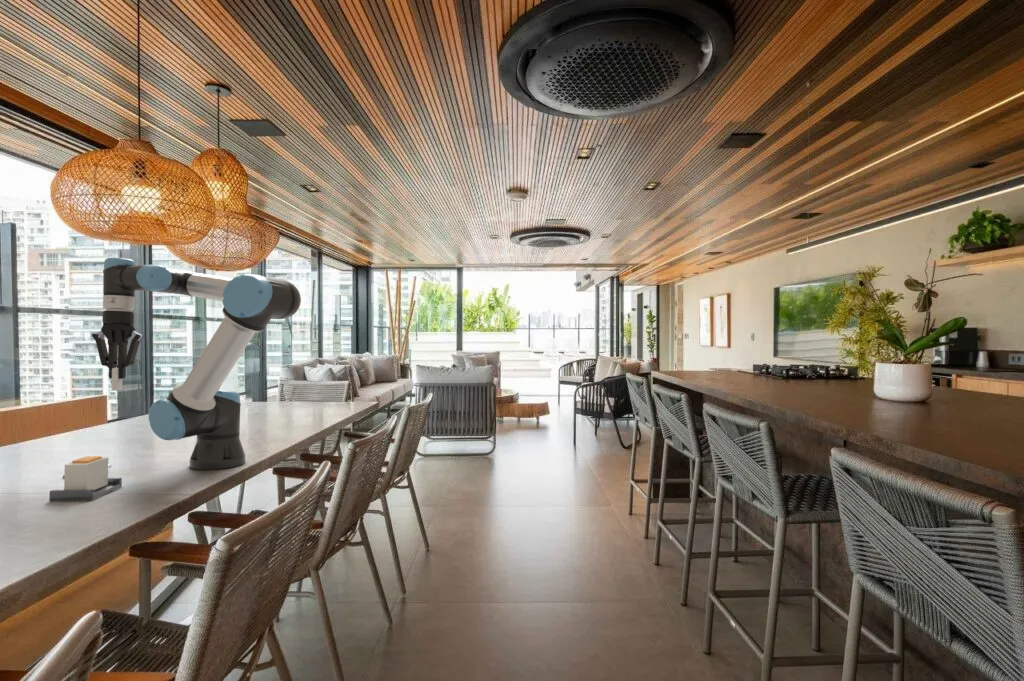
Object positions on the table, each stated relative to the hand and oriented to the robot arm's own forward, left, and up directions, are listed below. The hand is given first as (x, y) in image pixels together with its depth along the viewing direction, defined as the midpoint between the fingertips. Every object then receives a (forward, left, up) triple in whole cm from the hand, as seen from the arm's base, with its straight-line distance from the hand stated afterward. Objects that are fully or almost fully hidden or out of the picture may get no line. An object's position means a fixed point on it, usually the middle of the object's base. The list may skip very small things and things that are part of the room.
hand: (116, 389), depth 158 cm
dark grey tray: (-9, +27, -23) cm, 37 cm away
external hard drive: (+5, +4, -24) cm, 25 cm away
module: (-9, +27, -22) cm, 36 cm away
